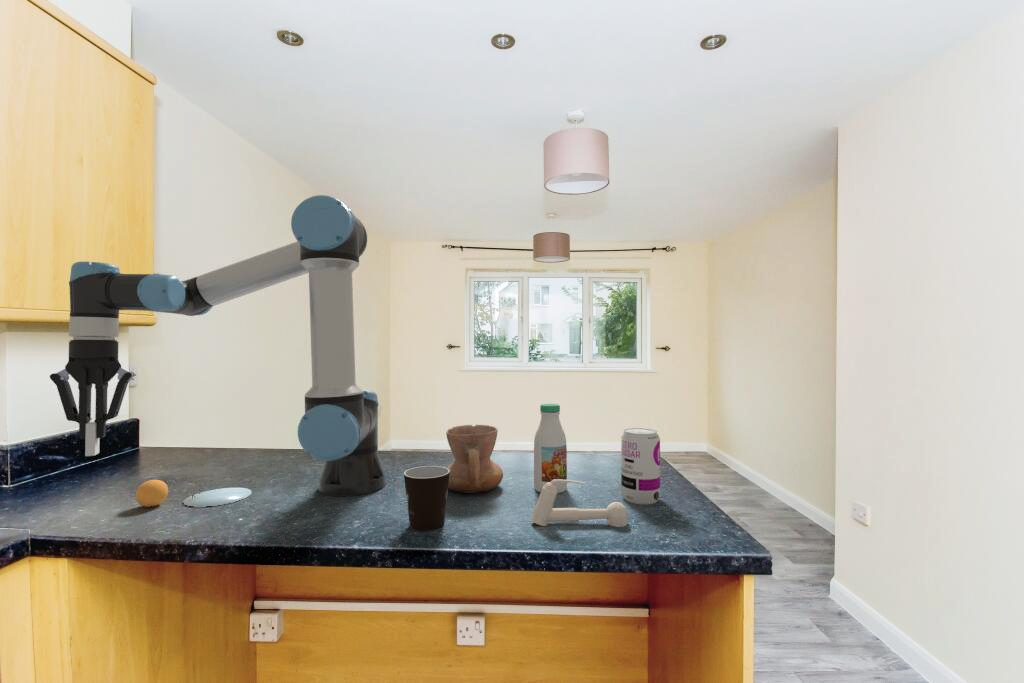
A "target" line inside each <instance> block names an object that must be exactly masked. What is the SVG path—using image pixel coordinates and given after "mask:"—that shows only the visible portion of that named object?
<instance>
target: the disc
mask: <svg viewBox="0 0 1024 683" xmlns="http://www.w3.org/2000/svg"><path fill="white" fill-rule="evenodd" d="M199 493H200V494H199ZM252 494H253V493H252V489H249V488H247V487H223V488H216V489H210V490H205V491H202V492H198V493H195V494H193V495H194V496H195V497H194V496H193V499H192V495H190V496H188V497H186V498H185V499H183V501H182V504H183V503H184V504H185V505H187V506H186V507H188V506H194V507H193V508H207V507H206V506H213V507H219V506H218V505H220V506H225V505H230V504H233V502H234V503H236V501H237V502H239V500H240V501H243V500H244V499H247V498H249V497H250V496H251V495H252ZM242 499H243V500H242ZM190 500H191V501H190ZM229 503H230V504H229ZM184 504H183V505H184ZM224 504H225V505H224ZM185 505H184V506H185Z"/></svg>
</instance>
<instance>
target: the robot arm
mask: <svg viewBox="0 0 1024 683" xmlns="http://www.w3.org/2000/svg"><path fill="white" fill-rule="evenodd" d="M290 220H291V222H290V227H291V231H292V234H293V236H294V238H295V240H296V241H295V242H292V243H290V244H286V245H284V246H281V247H278V248H275V249H271V250H269V251H267V252H264V253H260V254H257V255H255V256H252V257H248V258H246V259H243V260H240V261H238V262H235V263H232V264H228V265H226V266H223V267H220V268H217V269H214V270H212V271H209V272H206V273H203V274H199V275H197V276H195V277H191V278H189V279H186V280H185V279H184V280H180V279H179V278H178V276H175V275H171V274H162V273H161V274H160V273H146V274H145V273H121V272H120V267H119V266H117V265H116V264H112V263H108V262H107V263H106V262H98V261H85V260H84V261H77V262H76V261H75V263H73V264H71V269H70V276H69V277H70V278H69V281H68V285H69V306H70V307H69V310H70V311H69V318H68V319H69V320H68V321H69V324H68V325H69V326H68V328H69V329H68V336H69V337H71V338H72V339H70V340H69V341H68V362H67V363H66V364H65V367H64V368H63V369H62V370H60V371H57V372H55V373H51V374H50V375H49V379H50V380H51V381H52V382H53V383H54V384H55V387H56V388H57V392H58V395H59V399H60V402H61V404H62V408H63V410H64V414H65V418H66V420H67V421H69V422H71V421H72V422H74V423H75V422H76V423H78V426H79V428H78V429H79V430H78V432H79V435H78V437H79V439H80V440H85V443H84V444H85V445H84V447H85V450H84V451H85V452H84V453H85V454H84V456H85V457H93V456H96V455H99V454H100V444H101V443H100V439H102V438H104V437H106V435H107V422H108V421H109V420H111V419H112V420H113V419H114V418H116V417H118V415H119V413H120V409H121V407H122V403H123V400H124V397H125V394H126V391H127V388H128V385H129V382H130V381H131V380H132V379H133V378H134V377H135V373H134V372H133V371H128V370H126V369H124V368H123V367H122V364H121V362H120V361H119V341H118V340H117V339H116V338H118V337H119V332H120V330H119V328H120V327H119V326H120V316H119V315H120V311H141V312H142V311H147V312H156V313H165V314H176V315H182V316H188V317H194V316H202V315H205V314H207V313H208V312H210V311H211V309H212V308H213V307H215V306H217V305H221V304H223V303H226V302H229V301H232V300H234V299H238V298H241V297H243V296H246V295H250V294H252V293H254V292H258V291H260V290H264V289H266V288H269V287H271V286H275V285H278V284H280V283H283V282H286V281H289V280H291V279H292V280H293V279H295V278H298V277H300V276H302V275H306V274H308V287H309V288H308V291H309V293H308V294H309V320H310V321H309V324H310V354H311V355H310V356H311V357H310V358H311V387H310V389H308V391H307V392H306V393H305V394H304V414H303V416H302V417H301V418H300V421H299V423H298V426H297V439H298V441H299V442H298V443H299V444H300V446H301V448H302V449H303V451H305V452H306V453H307V454H308V455H310V456H311V458H314V459H316V460H320V461H323V462H324V465H323V467H322V471H321V473H320V476H319V480H318V492H319V493H321V494H322V495H326V496H330V497H331V496H332V497H349V496H350V497H351V496H359V495H365V494H369V493H372V492H375V491H379V490H380V489H382V488H383V487H385V485H386V473H385V471H384V467H383V465H382V461H381V458H380V456H379V452H378V450H379V448H378V447H379V446H378V443H379V442H378V441H379V429H378V428H379V426H378V424H379V419H378V418H379V417H378V416H379V413H378V412H379V411H378V410H379V401H378V400H379V399H378V395H377V393H376V392H375V391H371V390H370V391H369V390H363V389H362V388H361V387H359V386H358V385H357V383H356V358H355V357H356V356H355V354H356V353H355V324H354V297H353V296H354V294H353V290H354V288H353V272H354V271H355V270H356V269H357V268H358V267H359V266H360V257H361V256H362V255H363V254H364V253H365V251H366V248H367V247H368V246H367V244H368V234H367V229H366V227H365V225H364V224H363V222H361V220H360V219H359V218H358V217H357V216H356V215H355V214H354V213H353V212H352V210H351V208H350V207H349V206H348V205H347V204H345V203H344V202H342V201H340V200H339V199H338V198H335V197H334V196H329V195H325V194H320V195H318V194H317V195H313V196H310V197H308V198H306V199H304V200H303V201H301V203H299V204H298V205H297V206H296V208H295V209H294V211H293V212H292V216H291V219H290ZM116 375H117V376H116ZM70 376H71V377H72V379H73V380H74V381H75V382H76V383H77V384H78V386H77V388H78V407H77V404H76V401H75V398H74V394H73V390H72V387H71V385H70V382H69V379H70ZM115 376H116V377H117V380H118V382H117V384H116V387H115V390H114V394H113V396H112V399H111V402H110V405H109V407H108V387H109V382H110V381H111V380H113V378H114V377H115ZM93 385H94V389H95V414H94V416H95V417H94V418H95V419H94V420H93V421H91V420H92V419H93V418H92V417H91V415H92V413H91V412H92V388H93Z"/></svg>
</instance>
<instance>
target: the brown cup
mask: <svg viewBox="0 0 1024 683" xmlns="http://www.w3.org/2000/svg"><path fill="white" fill-rule="evenodd" d="M449 474H450V470H449V469H448V468H447V467H445V466H439V465H424V466H423V465H422V466H421V465H420V466H415V467H412V468H409V469H406V470H405V471H404V472H403V478H404V480H403V481H404V487H405V496H406V503H407V513H408V520H409V521H408V522H409V527H410V529H411V530H414V531H417V532H431V531H436V530H438V529H441V528H443V526H444V525H445V519H446V508H447V502H448V501H447V499H448V493H449V492H448V491H449V488H448V483H449Z"/></svg>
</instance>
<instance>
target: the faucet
mask: <svg viewBox="0 0 1024 683" xmlns="http://www.w3.org/2000/svg"><path fill="white" fill-rule="evenodd" d="M564 482H567V483H571V484H572V483H573V484H583V485H584V484H585V485H586V484H588V483H587V482H585V481H578V480H572V479H567V480H562V479H554V480H552V481H551V482H548V483H546V484H545V485H544V486H543V488H542V491H541V492H539V493H540V494H539V496H538V500H537V501H536V504H535V507H534V509H533V511H532V514H531V517H530V520H531V522H532V523H534V524H536V525H539V526H541V527H546V526H548V524H549V522H552V523H553V522H560V523H561V522H563V523H564V522H567V523H568V522H569V523H570V522H574V523H575V522H579V521H587V520H588V521H589V520H603V519H606V520H607V525H609V526H610V527H617V528H623V527H626V526H627V525H628V510H627V507H626V506H625V505H624V504H623V503H621V502H619V501H613V502H610V503H609V504H608V505H607V507H606V508H578V507H555V508H554V507H553V506H554V503H555V500H556V497H557V494H558V493H557V487H556V486H555V484H556V483H564Z"/></svg>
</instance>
